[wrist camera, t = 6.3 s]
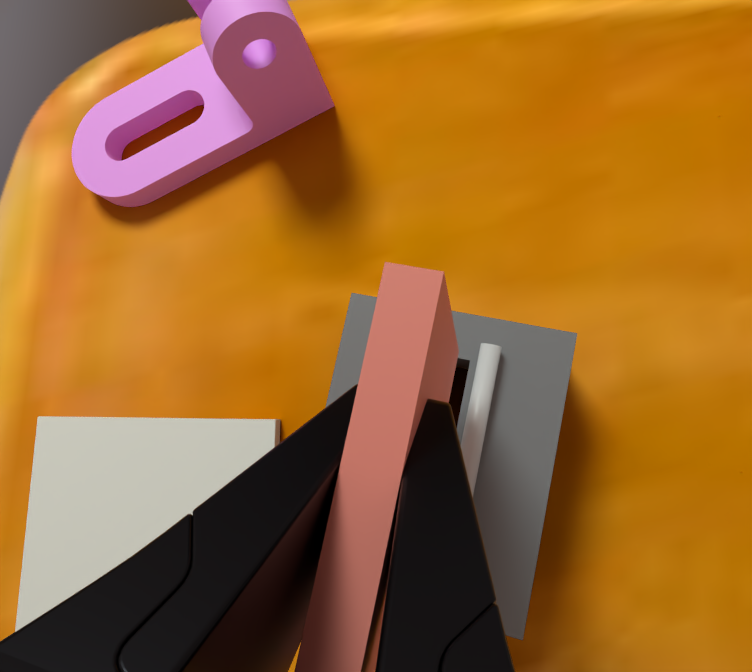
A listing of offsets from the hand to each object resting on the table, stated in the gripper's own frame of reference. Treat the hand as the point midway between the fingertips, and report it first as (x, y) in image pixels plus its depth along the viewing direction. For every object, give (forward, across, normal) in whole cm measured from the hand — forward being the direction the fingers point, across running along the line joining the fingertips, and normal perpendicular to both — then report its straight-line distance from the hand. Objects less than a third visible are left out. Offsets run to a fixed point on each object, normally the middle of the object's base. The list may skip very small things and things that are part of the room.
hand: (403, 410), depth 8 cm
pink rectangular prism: (+4, 0, +6) cm, 7 cm away
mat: (+2, +12, +17) cm, 20 cm away
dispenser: (+8, 0, +10) cm, 14 cm away
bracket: (+18, +15, +2) cm, 23 cm away
